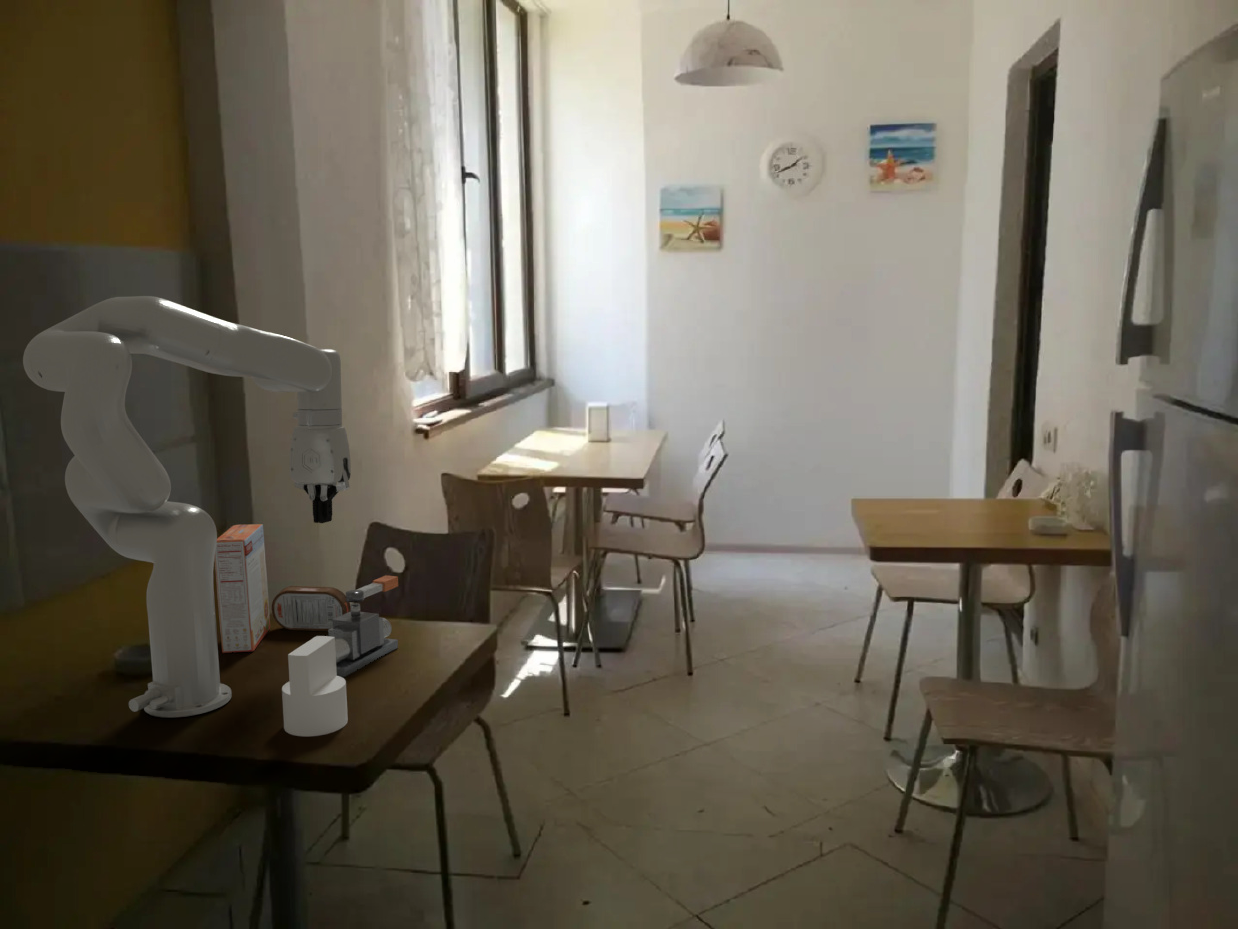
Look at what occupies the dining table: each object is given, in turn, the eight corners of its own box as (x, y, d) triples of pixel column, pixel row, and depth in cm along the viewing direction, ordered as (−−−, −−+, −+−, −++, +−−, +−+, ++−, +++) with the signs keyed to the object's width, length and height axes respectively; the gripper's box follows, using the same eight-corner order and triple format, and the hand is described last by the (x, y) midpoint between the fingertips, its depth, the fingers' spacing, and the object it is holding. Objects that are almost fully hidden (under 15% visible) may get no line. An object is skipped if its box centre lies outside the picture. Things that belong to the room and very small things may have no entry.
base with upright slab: (330, 738, 144) (326, 657, 142) (272, 734, 145) (267, 654, 144) (358, 714, 152) (354, 637, 151) (302, 710, 154) (298, 634, 152)
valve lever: (356, 604, 173) (356, 594, 173) (342, 602, 175) (342, 592, 174) (399, 586, 185) (398, 576, 185) (385, 584, 186) (385, 575, 186)
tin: (352, 628, 195) (350, 585, 194) (346, 633, 192) (344, 590, 191) (277, 626, 197) (275, 584, 196) (270, 631, 194) (268, 588, 193)
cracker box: (239, 630, 194) (232, 523, 191) (271, 629, 195) (265, 523, 192) (218, 654, 181) (211, 539, 178) (253, 652, 181) (246, 538, 178)
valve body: (344, 677, 168) (341, 618, 167) (314, 672, 171) (311, 615, 169) (398, 647, 183) (395, 594, 182) (369, 644, 185) (367, 591, 184)
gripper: (270, 419, 177) (274, 522, 179) (344, 421, 172) (346, 528, 174) (297, 416, 184) (300, 516, 186) (368, 419, 179) (370, 521, 181)
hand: (322, 521), depth 180 cm, fingers closed
